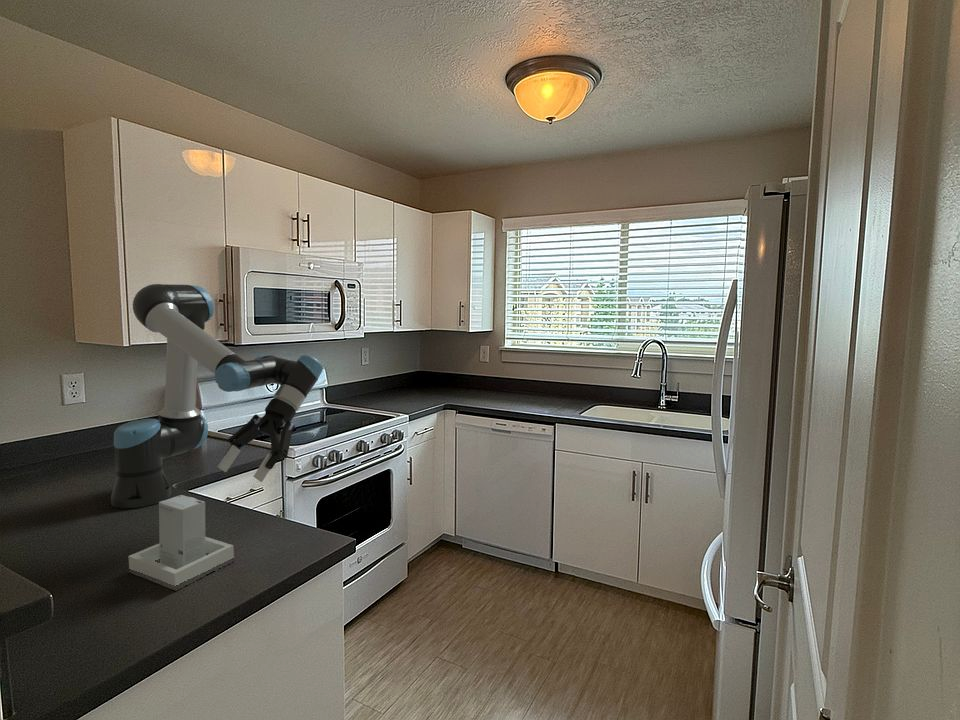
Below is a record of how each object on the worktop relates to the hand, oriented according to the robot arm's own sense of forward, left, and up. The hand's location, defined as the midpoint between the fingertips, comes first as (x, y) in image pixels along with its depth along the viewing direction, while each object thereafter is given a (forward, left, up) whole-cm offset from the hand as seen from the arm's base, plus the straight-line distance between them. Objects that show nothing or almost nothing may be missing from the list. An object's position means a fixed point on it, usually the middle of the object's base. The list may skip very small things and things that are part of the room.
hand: (239, 474), depth 132 cm
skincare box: (+2, -17, -16) cm, 23 cm away
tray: (+2, -17, -16) cm, 24 cm away
